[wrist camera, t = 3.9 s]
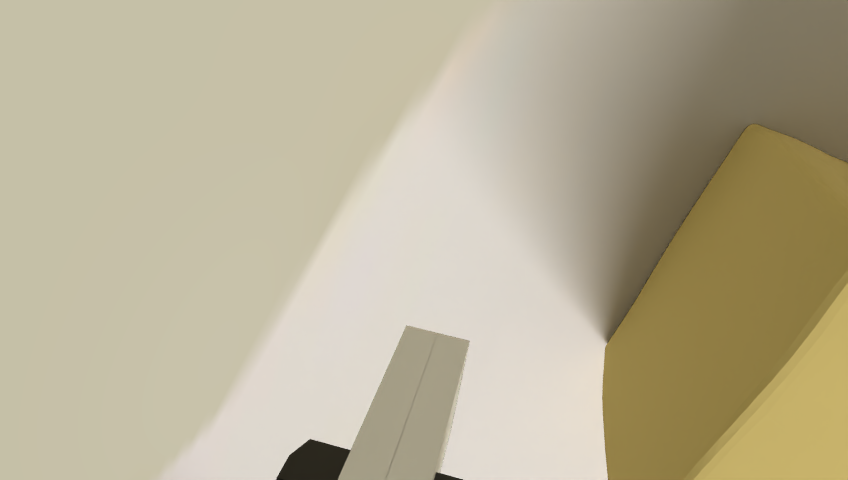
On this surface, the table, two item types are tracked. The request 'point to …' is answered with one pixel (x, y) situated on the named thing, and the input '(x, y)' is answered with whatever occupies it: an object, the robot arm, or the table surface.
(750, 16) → the table surface
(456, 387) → the robot arm
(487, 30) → the table surface
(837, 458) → the cheese
